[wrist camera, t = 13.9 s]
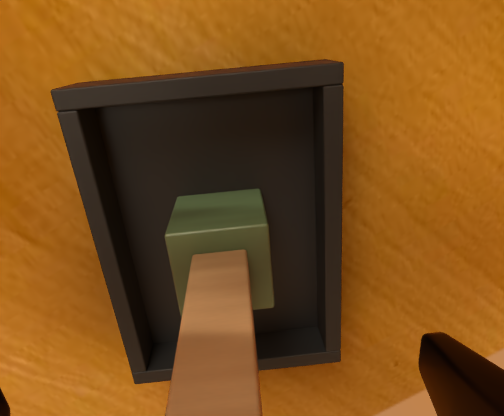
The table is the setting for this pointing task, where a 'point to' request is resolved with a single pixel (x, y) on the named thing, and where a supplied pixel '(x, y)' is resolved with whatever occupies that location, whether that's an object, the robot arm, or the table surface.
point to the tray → (213, 181)
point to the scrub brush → (218, 301)
